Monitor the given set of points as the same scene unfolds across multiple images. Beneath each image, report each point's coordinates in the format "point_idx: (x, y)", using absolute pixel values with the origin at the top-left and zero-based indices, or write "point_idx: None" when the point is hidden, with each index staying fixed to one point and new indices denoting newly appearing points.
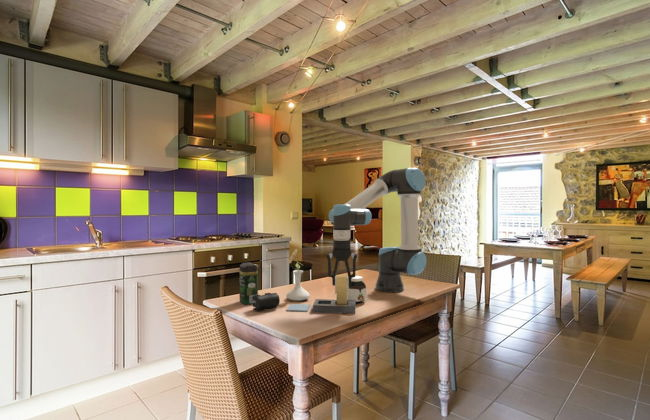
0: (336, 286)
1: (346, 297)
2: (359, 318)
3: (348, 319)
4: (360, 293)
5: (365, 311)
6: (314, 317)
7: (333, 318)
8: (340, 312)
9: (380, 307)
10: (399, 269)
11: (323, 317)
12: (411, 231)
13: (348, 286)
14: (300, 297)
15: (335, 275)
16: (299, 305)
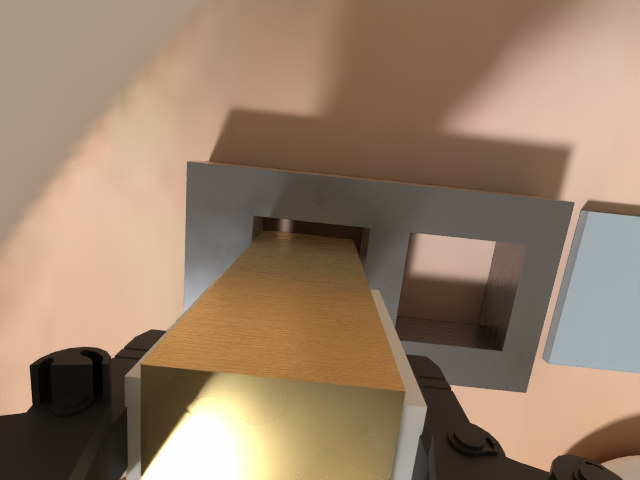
0: None
1: (252, 245)
2: (178, 38)
3: (265, 9)
4: (125, 472)
5: (130, 221)
6: (536, 61)
7: (384, 35)
8: (322, 173)
9: (20, 318)
10: None
11: (463, 62)
12: None
13: (188, 308)
14: (636, 473)
15: (435, 473)
16: (635, 340)
